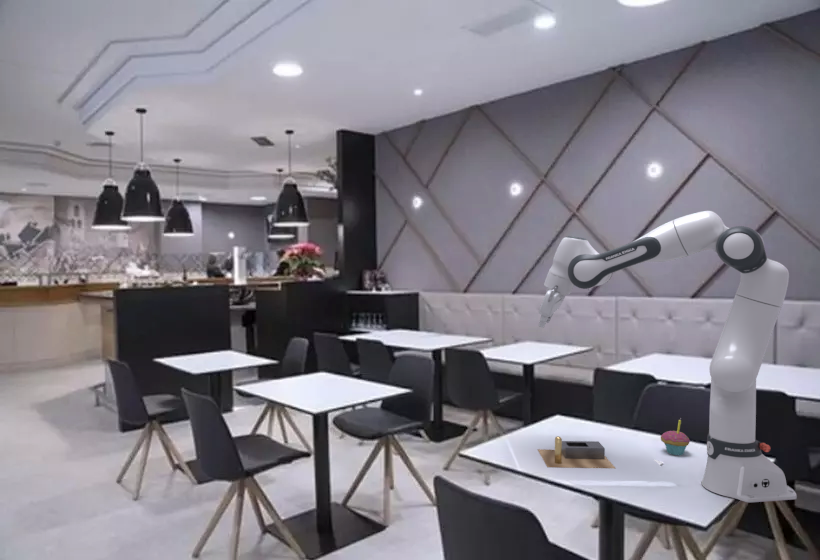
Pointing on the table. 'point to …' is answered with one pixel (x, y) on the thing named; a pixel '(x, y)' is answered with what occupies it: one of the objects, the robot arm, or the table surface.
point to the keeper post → (558, 450)
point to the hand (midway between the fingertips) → (543, 324)
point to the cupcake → (675, 441)
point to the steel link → (583, 450)
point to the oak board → (573, 461)
